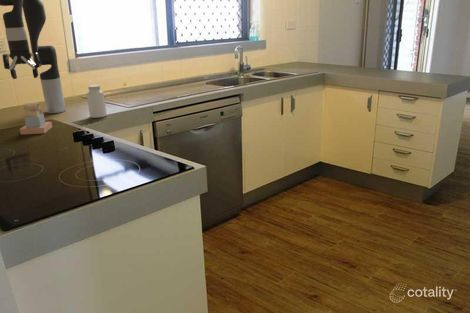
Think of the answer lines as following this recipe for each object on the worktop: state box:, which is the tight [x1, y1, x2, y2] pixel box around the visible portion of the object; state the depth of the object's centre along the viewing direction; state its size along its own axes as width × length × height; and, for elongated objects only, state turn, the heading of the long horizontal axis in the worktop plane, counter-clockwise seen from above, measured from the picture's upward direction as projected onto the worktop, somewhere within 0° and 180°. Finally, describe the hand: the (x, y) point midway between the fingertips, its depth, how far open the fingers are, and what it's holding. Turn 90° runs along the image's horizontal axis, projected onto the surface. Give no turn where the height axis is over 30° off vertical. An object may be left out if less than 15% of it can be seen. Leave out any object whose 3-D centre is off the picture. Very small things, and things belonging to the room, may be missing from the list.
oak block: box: [22, 102, 42, 117], centre depth 181 cm, size 5×5×5 cm
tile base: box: [19, 121, 53, 135], centre depth 184 cm, size 10×10×2 cm
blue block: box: [23, 113, 46, 127], centre depth 183 cm, size 6×6×4 cm
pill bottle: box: [86, 84, 107, 119], centre depth 203 cm, size 8×8×15 cm
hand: (25, 78), depth 178 cm, fingers open, 8 cm apart
